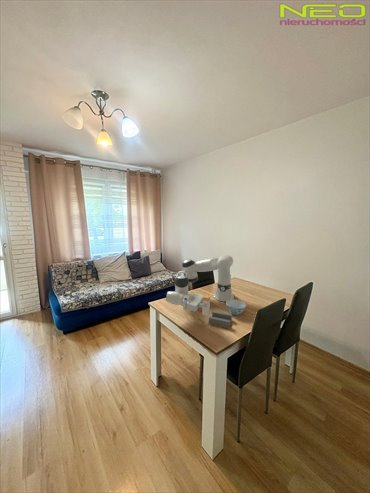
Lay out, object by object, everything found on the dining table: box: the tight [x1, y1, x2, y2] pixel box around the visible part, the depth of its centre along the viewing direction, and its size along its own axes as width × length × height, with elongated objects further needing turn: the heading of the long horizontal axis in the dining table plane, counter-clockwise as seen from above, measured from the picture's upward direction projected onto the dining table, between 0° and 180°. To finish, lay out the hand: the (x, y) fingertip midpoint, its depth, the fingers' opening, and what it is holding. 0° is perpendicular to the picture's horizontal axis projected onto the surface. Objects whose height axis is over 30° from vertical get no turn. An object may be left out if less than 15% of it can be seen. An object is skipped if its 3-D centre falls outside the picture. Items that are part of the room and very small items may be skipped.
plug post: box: [201, 294, 211, 316], centre depth 133 cm, size 4×4×12 cm
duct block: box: [208, 310, 233, 329], centre depth 141 cm, size 12×14×4 cm
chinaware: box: [225, 299, 247, 316], centre depth 155 cm, size 15×15×8 cm
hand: (207, 304), depth 132 cm, fingers closed on plug post, 4 cm apart
